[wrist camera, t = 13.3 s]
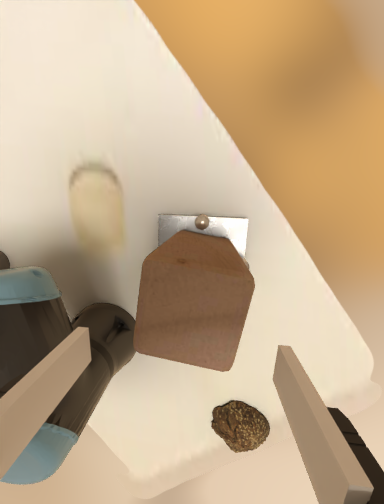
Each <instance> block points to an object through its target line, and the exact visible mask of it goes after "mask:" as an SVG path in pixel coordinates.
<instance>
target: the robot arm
mask: <svg viewBox="0 0 384 504" xmlns="http://www.w3.org/2000/svg"><path fill="white" fill-rule="evenodd" d="M61 295H62V294H61V292H60V291H58V288H57V286H56V284H55V282H54V280H53V278H52V275H51V274H50V272H49V271H48V270H46V269H44V268H42V267H37V266H29V267H19V268H11V269H4V270H0V481H1V482H5V483H11V484H34V483H38V482H40V481H43V480H45V479H47V478H48V477H50V476H51V475H52V474H54V473H55V472H56V470H57V469H58V468H59V467H60V466H61V464H62V463H63V461H64V459H65V458H66V456H67V455H68V453H69V451H70V450H71V448H72V447H73V445H75V443H76V442H77V441H78V438H79V436H80V434H81V432H82V431H83V429H84V427H85V425H86V423H87V422H88V420H89V418H90V416H91V414H92V413H93V411H94V409H95V407H96V405H97V404H98V402H99V400H100V398H101V396H102V394H103V393H104V391H105V389H106V387H107V385H108V384H109V382H110V380H111V378H112V377H113V376H114V375H115V374H116V373H117V372H118V371H119V370H120V369H121V368H122V367H123V366H124V365H126V364H127V363H128V362H129V361H130V360H131V359H132V358H133V356H134V354H135V352H136V350H134V346H133V338H134V330H135V321H134V319H133V318H132V317H131V316H130V315H129V314H128V313H127V312H126V311H125V310H123V309H122V308H120V307H118V306H115V305H112V304H107V303H97V304H93V305H90V306H88V307H86V308H85V309H83V310H82V311H81V312H80V313H79V314H77V315H76V317H75V318H74V319H73V320H72V322H70V320H69V317H68V315H67V312H66V310H65V307H64V304H63V302H62V299H61ZM273 382H274V384H275V387H276V390H277V392H278V395H279V398H280V400H281V403H282V406H283V408H284V411H285V414H286V416H287V419H288V422H289V424H290V427H291V430H292V432H293V435H294V437H295V440H296V443H297V446H298V448H299V451H300V454H301V456H302V459H303V462H304V465H305V467H306V470H307V473H308V475H309V478H310V481H311V483H312V486H313V489H314V491H315V494H316V497H317V499H318V502H319V504H384V472H383V470H382V469H381V467H380V466H379V464H378V463H377V461H376V459H375V458H374V457H373V455H372V453H371V452H370V450H369V449H368V448H367V447H366V445H365V443H364V441H363V440H362V438H361V437H360V436H359V435H358V432H357V431H356V429H355V428H354V426H353V425H352V423H351V422H350V420H349V419H348V418H347V417H346V416H345V415H344V414H343V413H342V412H341V411H340V410H339V409H338V408H329V407H326V406H325V404H324V402H323V401H322V399H321V397H320V396H319V394H318V392H317V391H316V389H315V387H314V385H313V384H312V382H311V380H310V379H309V377H308V375H307V374H306V372H305V370H304V369H303V367H302V365H301V363H300V362H299V360H298V358H297V357H296V355H295V353H294V352H293V350H292V348H291V346H282V345H278V351H277V357H276V363H275V369H274V374H273Z"/></svg>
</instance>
